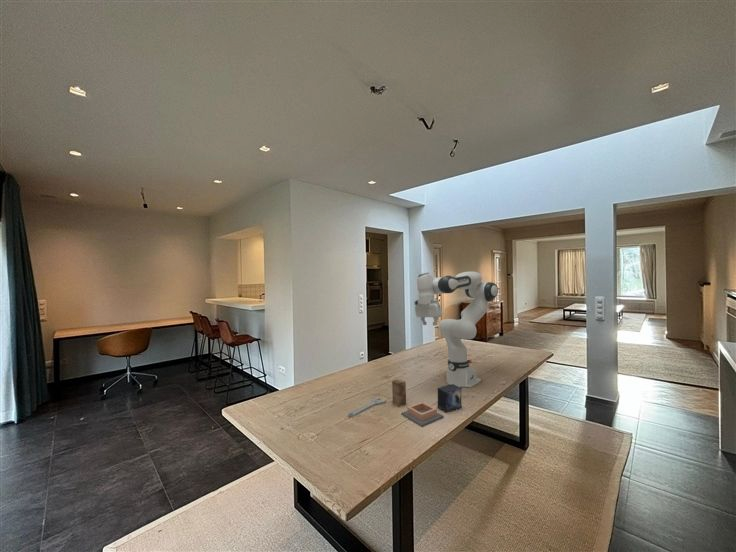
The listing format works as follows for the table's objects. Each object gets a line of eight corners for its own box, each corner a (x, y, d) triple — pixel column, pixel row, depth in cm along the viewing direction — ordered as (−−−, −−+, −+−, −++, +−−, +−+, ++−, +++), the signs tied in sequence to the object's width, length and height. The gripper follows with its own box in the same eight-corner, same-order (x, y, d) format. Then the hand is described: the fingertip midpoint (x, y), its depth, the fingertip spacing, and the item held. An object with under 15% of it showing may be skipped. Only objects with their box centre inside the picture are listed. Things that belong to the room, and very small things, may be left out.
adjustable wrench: (350, 419, 138) (350, 415, 138) (342, 414, 143) (342, 411, 143) (387, 402, 155) (387, 399, 155) (379, 399, 160) (379, 396, 160)
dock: (422, 407, 148) (422, 399, 148) (443, 417, 136) (443, 409, 136) (401, 414, 140) (401, 406, 140) (421, 427, 128) (421, 418, 129)
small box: (445, 413, 141) (445, 391, 141) (437, 408, 147) (436, 387, 147) (462, 408, 145) (461, 387, 145) (453, 403, 151) (452, 383, 151)
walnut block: (400, 401, 156) (399, 378, 156) (406, 404, 152) (405, 381, 152) (392, 403, 153) (392, 380, 153) (398, 406, 149) (398, 383, 149)
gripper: (443, 299, 159) (446, 324, 158) (420, 301, 178) (423, 323, 176) (434, 300, 157) (437, 326, 155) (412, 302, 175) (415, 325, 174)
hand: (429, 325), depth 166 cm, fingers open, 8 cm apart
